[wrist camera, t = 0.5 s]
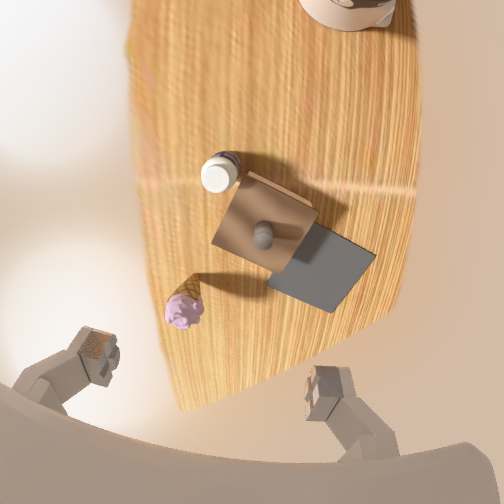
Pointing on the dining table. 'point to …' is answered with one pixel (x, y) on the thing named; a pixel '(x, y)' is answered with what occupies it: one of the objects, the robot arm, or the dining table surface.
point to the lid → (264, 225)
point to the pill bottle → (220, 171)
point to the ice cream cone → (185, 304)
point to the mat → (322, 269)
